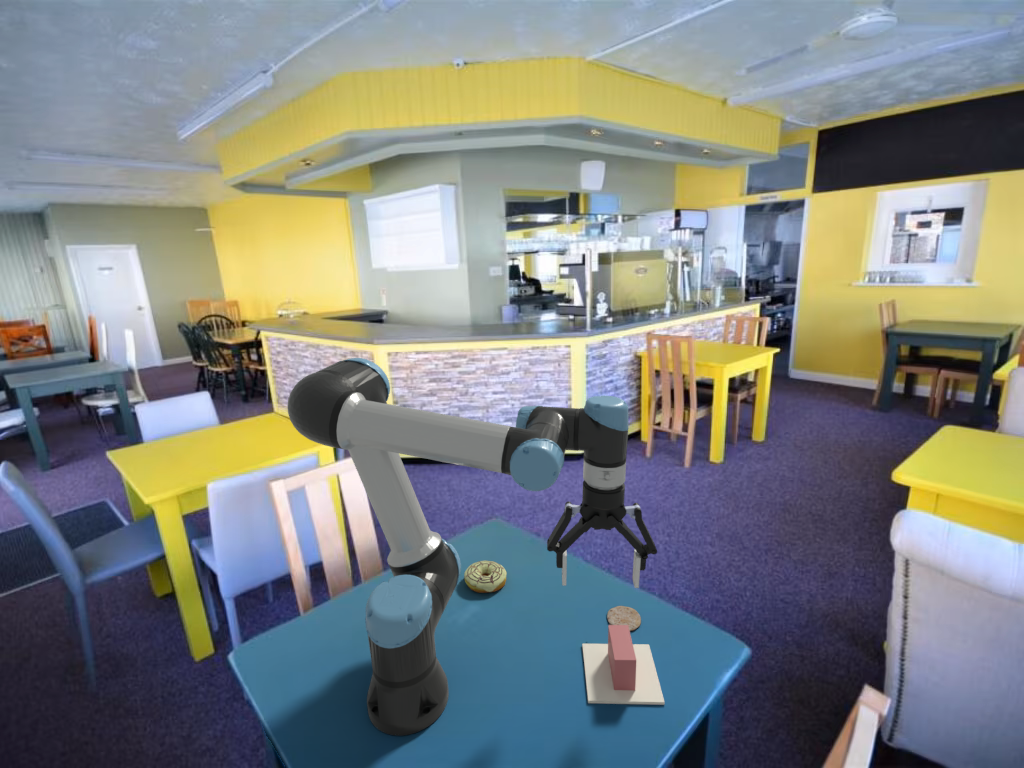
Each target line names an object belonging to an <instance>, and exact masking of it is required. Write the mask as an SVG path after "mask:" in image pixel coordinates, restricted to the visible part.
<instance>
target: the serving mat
mask: <svg viewBox="0 0 1024 768" xmlns="http://www.w3.org/2000/svg"><path fill="white" fill-rule="evenodd" d="M581 645H582V656H583V662H584V663H583V664H584V674H585V685H586V694H587V695H586V697H587V703H588V704H607V705H610V704H613V705H615V704H616V705H657V706H658V705H659V706H660V705H661V706H665V698H664V695H663V692H662V687H661V683H660V680H659V677H658V676H659V675H658V673H657V669H656V665H655V661H654V658H653V654H652V650H651V647H650V644H648V643H647V644H643V643H642V644H641V643H640V644H638V643H635V644H633V648H634V652H635V656H636V686H635V690H614V687H613V681H612V675H611V669H610V663H609V657H608V643H582V644H581Z"/></svg>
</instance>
